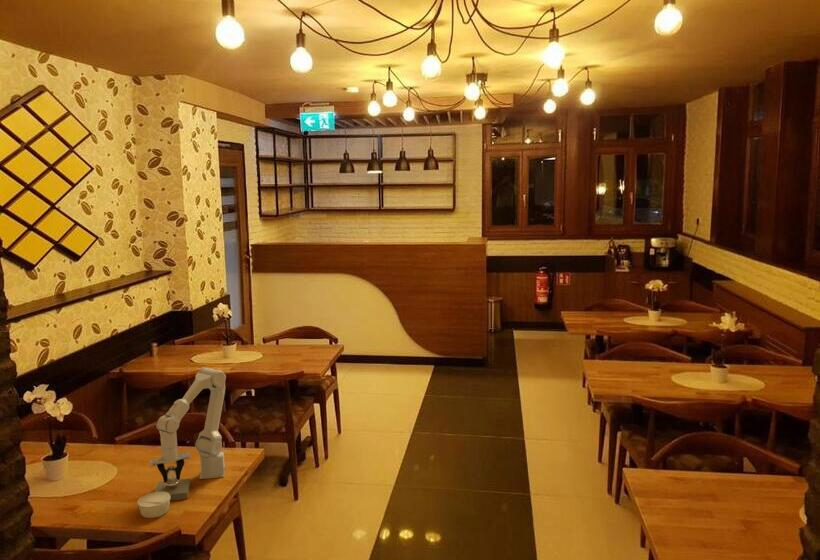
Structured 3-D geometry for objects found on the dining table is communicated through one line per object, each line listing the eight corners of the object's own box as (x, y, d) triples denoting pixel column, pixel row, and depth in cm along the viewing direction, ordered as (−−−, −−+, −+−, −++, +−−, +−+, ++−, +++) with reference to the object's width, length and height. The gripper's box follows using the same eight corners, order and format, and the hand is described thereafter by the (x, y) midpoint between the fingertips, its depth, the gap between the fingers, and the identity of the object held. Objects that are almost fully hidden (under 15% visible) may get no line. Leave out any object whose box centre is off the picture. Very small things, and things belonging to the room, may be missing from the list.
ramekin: (138, 523, 226) (137, 509, 225) (138, 508, 236) (137, 494, 235) (172, 516, 230) (171, 502, 230) (170, 501, 240) (169, 488, 240)
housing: (177, 479, 250) (176, 463, 249) (180, 484, 246) (179, 467, 245) (163, 482, 247) (162, 466, 246) (166, 487, 243) (165, 471, 242)
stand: (190, 484, 254) (190, 478, 254) (187, 498, 242) (186, 492, 242) (158, 487, 251) (158, 481, 251) (153, 502, 240) (153, 496, 239)
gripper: (187, 439, 251) (189, 471, 253) (147, 446, 244) (150, 479, 246) (190, 445, 245) (192, 478, 247) (149, 453, 238) (152, 487, 240)
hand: (171, 480), depth 246 cm, fingers closed on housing, 4 cm apart
